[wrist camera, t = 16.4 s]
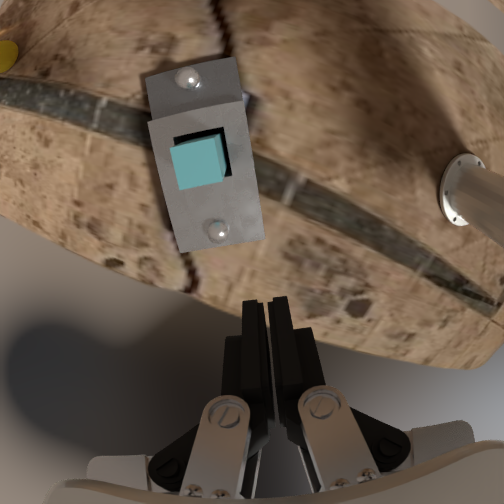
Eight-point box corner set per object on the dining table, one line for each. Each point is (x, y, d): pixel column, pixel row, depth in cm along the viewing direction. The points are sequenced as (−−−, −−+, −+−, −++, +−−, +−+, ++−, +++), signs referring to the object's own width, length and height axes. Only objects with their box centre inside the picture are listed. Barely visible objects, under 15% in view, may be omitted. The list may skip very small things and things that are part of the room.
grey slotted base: (235, 60, 26) (234, 50, 22) (262, 226, 37) (266, 242, 32) (150, 79, 27) (136, 74, 22) (185, 239, 37) (178, 256, 33)
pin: (221, 132, 31) (214, 137, 22) (227, 163, 33) (222, 181, 24) (189, 139, 31) (169, 148, 22) (195, 170, 33) (179, 190, 24)
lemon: (29, 37, 20) (-3, 32, 12) (25, 67, 22) (-9, 66, 15) (8, 49, 19) (-23, 47, 12) (4, 78, 22) (-28, 79, 15)
